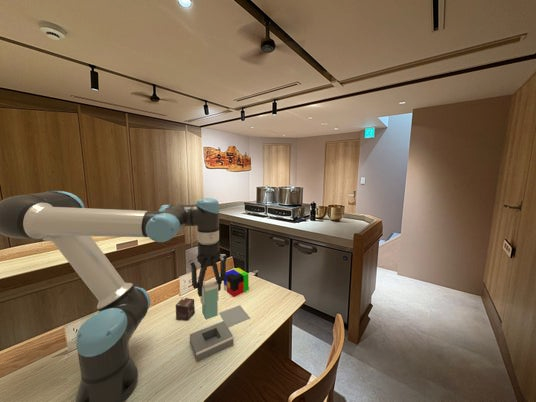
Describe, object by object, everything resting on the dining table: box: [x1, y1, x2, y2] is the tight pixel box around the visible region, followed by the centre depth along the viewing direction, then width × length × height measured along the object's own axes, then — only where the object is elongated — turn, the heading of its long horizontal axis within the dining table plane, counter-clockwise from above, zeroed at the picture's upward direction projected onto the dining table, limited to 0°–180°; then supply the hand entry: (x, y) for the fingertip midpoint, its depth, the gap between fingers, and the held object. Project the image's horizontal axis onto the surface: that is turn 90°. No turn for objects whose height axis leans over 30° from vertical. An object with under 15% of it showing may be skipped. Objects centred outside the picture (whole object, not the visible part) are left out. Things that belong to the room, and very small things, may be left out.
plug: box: [201, 280, 219, 320], centre depth 80 cm, size 4×4×12 cm
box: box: [175, 297, 196, 322], centre depth 97 cm, size 6×6×7 cm
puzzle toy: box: [223, 267, 250, 298], centre depth 120 cm, size 10×10×10 cm
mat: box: [218, 305, 251, 328], centre depth 98 cm, size 11×11×1 cm
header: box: [189, 320, 235, 362], centre depth 82 cm, size 14×10×4 cm
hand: (209, 300), depth 80 cm, fingers closed on plug, 4 cm apart
